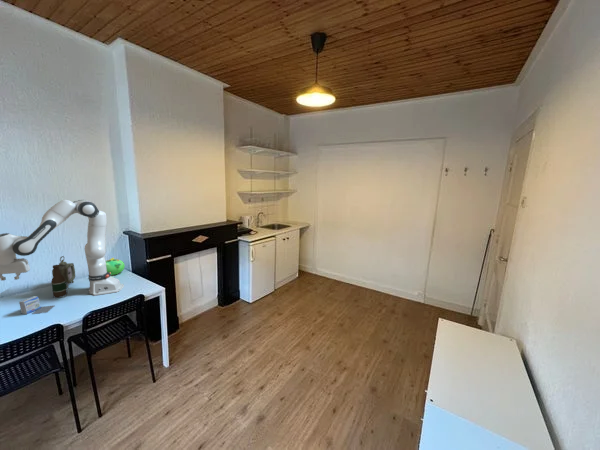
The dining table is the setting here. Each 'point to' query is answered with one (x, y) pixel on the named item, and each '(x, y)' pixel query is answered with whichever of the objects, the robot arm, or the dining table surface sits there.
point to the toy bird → (114, 266)
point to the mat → (43, 309)
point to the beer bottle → (58, 283)
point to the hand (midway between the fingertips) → (10, 279)
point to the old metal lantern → (66, 271)
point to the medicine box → (29, 305)
